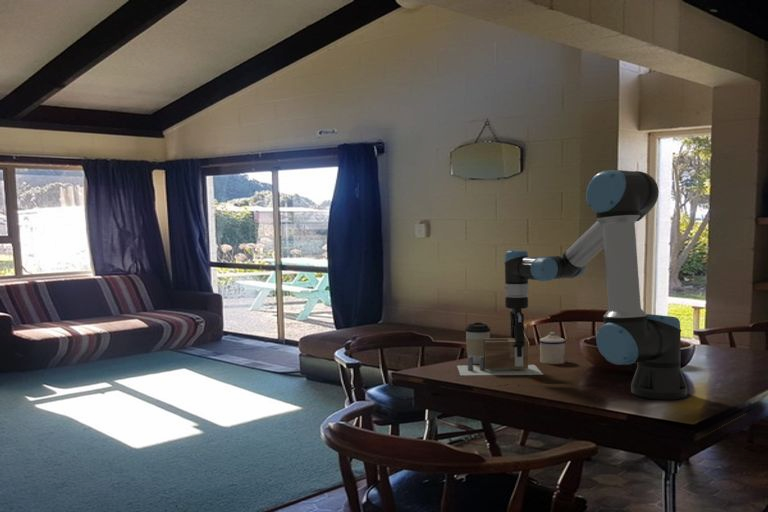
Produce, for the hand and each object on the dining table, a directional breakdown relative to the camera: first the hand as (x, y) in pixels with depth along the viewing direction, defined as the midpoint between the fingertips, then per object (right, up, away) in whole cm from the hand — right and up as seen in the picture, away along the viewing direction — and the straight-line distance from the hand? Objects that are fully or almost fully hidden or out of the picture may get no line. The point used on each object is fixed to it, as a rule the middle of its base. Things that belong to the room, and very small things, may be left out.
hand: (517, 363), depth 227 cm
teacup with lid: (+15, -3, +14) cm, 21 cm away
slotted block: (-4, -1, 0) cm, 4 cm away
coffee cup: (-11, -3, +14) cm, 19 cm away
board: (-6, -3, 0) cm, 7 cm away
